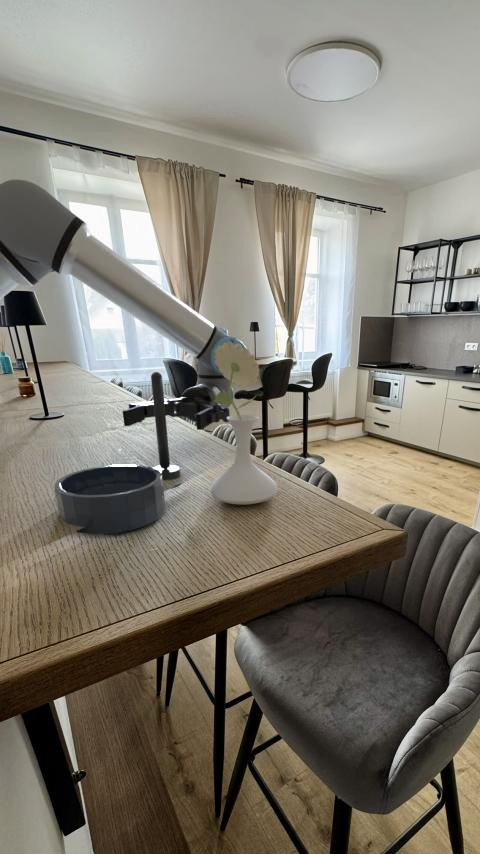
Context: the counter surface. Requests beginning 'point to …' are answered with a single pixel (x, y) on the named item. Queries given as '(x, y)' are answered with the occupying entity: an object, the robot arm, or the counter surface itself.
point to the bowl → (111, 498)
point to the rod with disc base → (162, 430)
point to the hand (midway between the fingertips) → (161, 420)
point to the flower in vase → (240, 433)
